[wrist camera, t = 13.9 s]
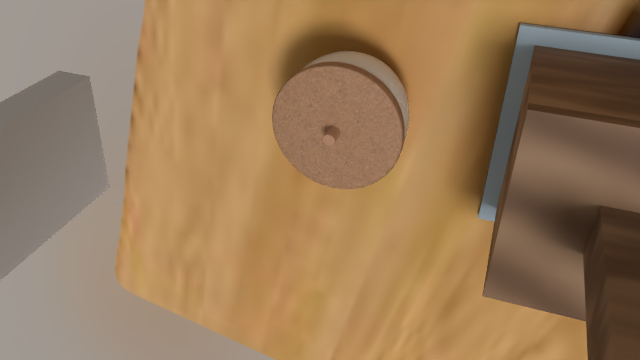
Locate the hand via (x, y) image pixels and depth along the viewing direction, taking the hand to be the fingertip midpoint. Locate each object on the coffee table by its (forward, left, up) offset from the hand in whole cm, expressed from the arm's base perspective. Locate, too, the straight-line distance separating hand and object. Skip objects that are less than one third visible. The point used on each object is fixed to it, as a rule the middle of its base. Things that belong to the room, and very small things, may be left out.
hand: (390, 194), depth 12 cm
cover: (+17, +11, -38) cm, 43 cm away
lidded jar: (+16, -10, -39) cm, 43 cm away
